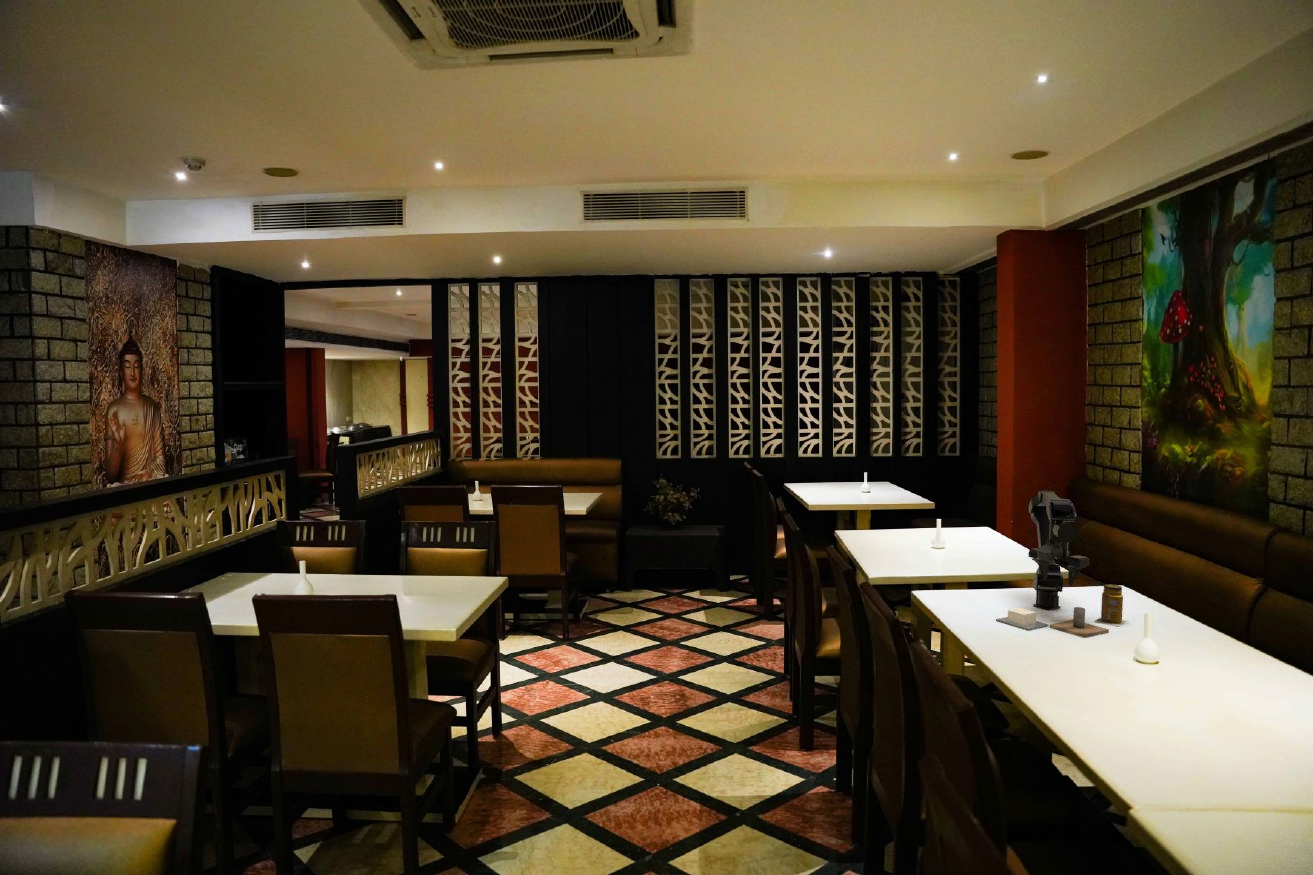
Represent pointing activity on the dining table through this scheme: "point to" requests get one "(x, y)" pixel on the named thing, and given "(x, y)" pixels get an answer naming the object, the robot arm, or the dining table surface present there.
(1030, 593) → the dining table surface
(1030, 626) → the pad
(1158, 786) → the dining table surface
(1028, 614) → the tan cardboard carton
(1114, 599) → the condiment
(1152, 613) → the dining table surface
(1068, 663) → the dining table surface
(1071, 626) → the post base
